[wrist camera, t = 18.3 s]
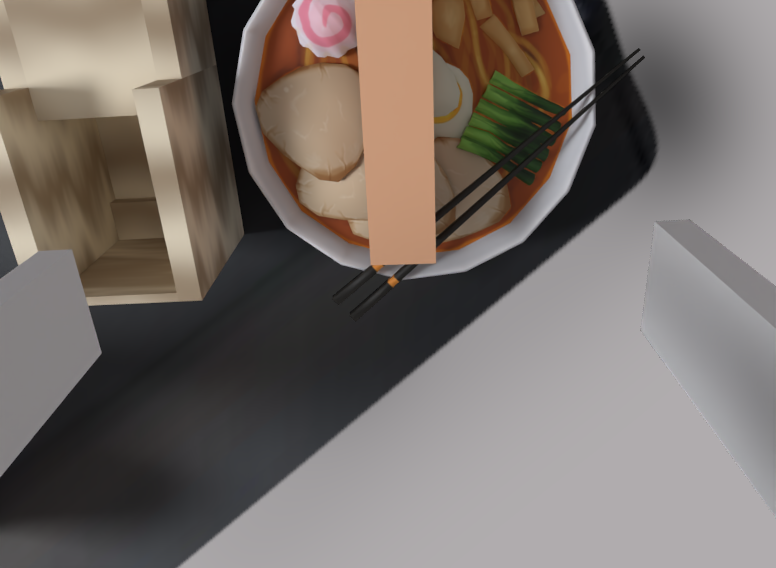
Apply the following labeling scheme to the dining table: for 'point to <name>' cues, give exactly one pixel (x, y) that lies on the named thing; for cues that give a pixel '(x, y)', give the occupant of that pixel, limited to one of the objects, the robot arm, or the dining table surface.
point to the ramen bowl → (451, 125)
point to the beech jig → (117, 145)
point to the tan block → (398, 128)
